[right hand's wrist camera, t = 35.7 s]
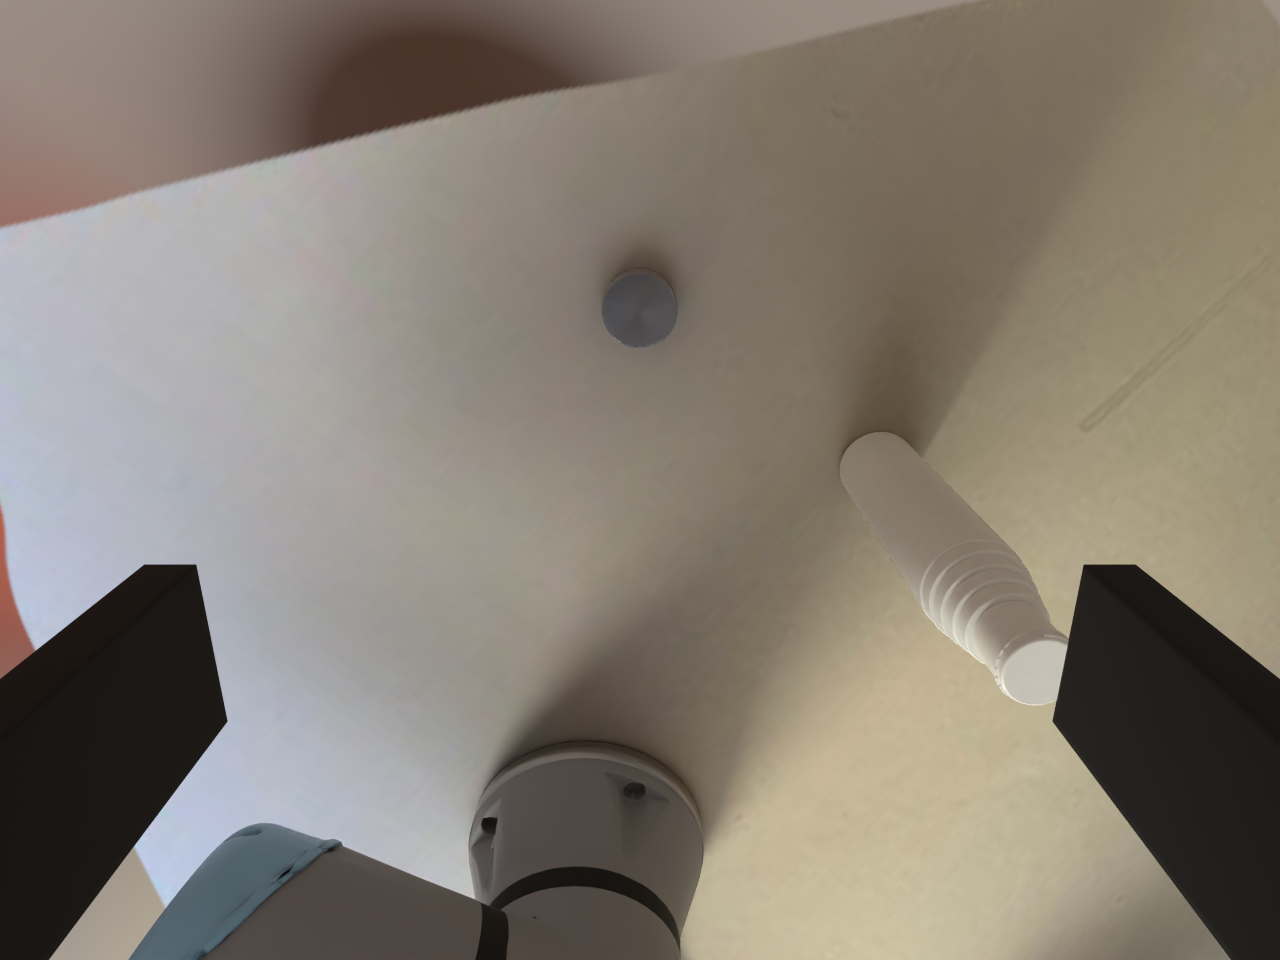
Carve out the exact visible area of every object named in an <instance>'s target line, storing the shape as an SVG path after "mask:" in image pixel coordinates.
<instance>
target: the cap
mask: <svg viewBox="0 0 1280 960" xmlns="http://www.w3.org/2000/svg"><path fill="white" fill-rule="evenodd" d="M602 315H603V320H604V323H605V326H606V328H607V330H608V331H609V333H610V334H611V335H612V336H613V337H614V338H615V339H616V340H617V341H619V342H620V343H622V344H624V345H627V346H630V347H635V348H645V347H649V346H653V345H655V344H657V343H659V342H660V341H662V340H663V339H664V338H665V337H666V336H667V335H668V334H669V333H670V331H671V330H672V328H673V326H674V324H675V321H676V317H677V304H676V299H675V296H674V292H673V290H672V288H671V286H670V284H669V283H668V282H667V281H666V280H665V279H664V278H663V277H662V276H661V275H660V274H658V273H656V272H654V271H652V270H648V269H642V268H638V269H631V270H628V271H625V272H623V273H621V274H620V275H618V276H617V277H616V278H615V279H614V280H613V281H612V282H611V283H610V285H609V286H608V288H607V290H606V293H605V296H604V300H603V305H602Z"/></svg>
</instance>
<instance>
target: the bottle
mask: <svg viewBox="0 0 1280 960" xmlns="http://www.w3.org/2000/svg"><path fill="white" fill-rule="evenodd" d="M839 472H840V479H841V482H842V484H843V486H844V488H845V490H846V491H847V493H848V494H849V496H850V497H851V499H852V501H853V502H854V504H855V505H856V507H857V508H858V510H859V511H860V513H861V515H862V516H863V518H864V519H865V521H866V522H867V524H868V525H869V527H870V528H871V530H872V532H873V533H874V535H875V536H876V538H877V539H878V541H879V542H880V544H881V546H882V547H883V549H884V550H885V552H886V553H887V555H888V556H889V558H890V559H891V561H892V563H893V564H894V566H895V567H896V569H897V570H898V572H899V573H900V575H901V577H902V578H903V580H904V581H905V583H906V584H907V586H908V587H909V589H910V590H911V592H912V594H913V595H914V597H915V598H916V600H917V601H918V603H919V604H920V606H921V607H922V609H923V611H924V612H925V614H926V615H927V616H928V618H929V619H930V620H931V621H932V622H933V623H934V624H935V625H936V626H937V628H938V629H939V630H940V631H941V632H942V633H944V634H945V635H946V636H948V637H949V638H950V639H951V640H953V641H954V642H955V643H956V644H958V645H960V646H961V647H962V648H963V649H964V650H966V651H967V652H969V653H970V654H971V655H972V656H973V657H974V658H975V659H977V660H978V661H980V662H981V663H983V664H986V665H987V666H988V668H989V669H990V670H991V672H992V673H993V675H994V678H995V680H996V683H997V685H998V687H999V688H1000V689H1001V690H1002V691H1003V693H1004V694H1005V695H1007V696H1009V697H1010V698H1012V699H1013V700H1016V701H1017V702H1020V703H1023V704H1026V705H1044V704H1048V703H1051V702H1054V701H1056V700H1057V696H1058V691H1059V686H1060V681H1061V676H1062V671H1063V666H1064V661H1065V656H1066V651H1067V646H1068V641H1069V639H1068V638H1067V636H1065V635H1064V634H1062V633H1061V632H1059V631H1057V630H1056V629H1055V627H1054V626H1053V625H1052V624H1051V623H1050V617H1049V614H1048V612H1047V610H1046V608H1045V607H1044V605H1043V601H1042V599H1041V597H1040V595H1039V594H1038V590H1037V588H1036V585H1035V584H1034V582H1033V580H1032V577H1031V575H1030V573H1029V571H1028V569H1027V568H1026V566H1025V565H1024V564H1023V563H1022V561H1021V559H1020V558H1019V556H1018V555H1017V554H1016V553H1015V552H1014V551H1013V550H1012V549H1011V548H1010V547H1009V546H1008V545H1007V544H1006V543H1005V542H1004V541H1003V540H1002V539H1001V538H1000V537H999V536H998V534H997V533H996V532H995V531H994V530H993V529H992V528H991V527H990V526H989V525H988V524H987V523H986V522H985V521H984V520H983V519H982V518H981V517H980V516H979V515H978V514H977V513H976V512H975V511H974V510H973V509H972V508H971V507H970V506H969V505H968V504H967V503H966V502H965V501H964V500H963V499H962V498H961V497H960V496H959V495H958V494H957V493H956V492H955V491H954V490H953V489H952V488H951V487H950V486H949V485H948V484H947V483H946V482H945V481H944V480H943V479H942V478H941V477H940V476H939V475H938V474H937V473H936V472H935V470H934V469H933V468H932V467H931V466H930V465H929V464H928V463H927V462H926V461H925V460H924V459H923V458H922V457H921V456H920V455H919V454H918V453H917V452H916V451H915V450H914V449H913V448H912V447H911V446H910V445H909V444H908V443H907V442H906V441H905V440H904V439H902V438H901V437H899V436H897V435H895V434H892V433H888V432H874V433H869V434H867V435H864V436H862V437H860V438H858V439H857V440H855V441H854V442H853V443H852V444H851V445H850V446H849V447H848V448H847V450H846V451H845V453H844V455H843V457H842V459H841V463H840V469H839Z"/></svg>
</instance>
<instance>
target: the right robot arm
mask: <svg viewBox="0 0 1280 960" xmlns="http://www.w3.org/2000/svg"><path fill="white" fill-rule="evenodd" d="M226 723H227V717H226V712H225V707H224V701H223V696H222V691H221V686H220V681H219V676H218V671H217V666H216V661H215V656H214V651H213V646H212V641H211V636H210V631H209V626H208V621H207V616H206V611H205V606H204V601H203V596H202V591H201V586H200V581H199V576H198V571H197V566H196V565H143V566H142V567H141V568H140V569H138V570H137V571H136V572H135V573H133V574H132V575H131V576H129V577H128V578H127V579H126V580H124V581H123V582H122V583H121V584H119V585H118V586H117V587H116V588H114V589H113V590H112V591H111V592H109V593H108V594H107V595H106V596H104V597H103V598H102V599H101V600H99V601H98V602H97V603H95V604H94V605H93V606H92V607H90V608H89V609H88V610H87V611H85V612H84V613H83V614H82V615H80V616H79V617H78V618H77V619H75V620H74V621H73V622H72V623H70V624H69V625H68V626H66V627H65V628H64V629H63V630H61V631H60V632H59V633H58V634H56V635H55V636H54V637H53V638H51V639H50V640H49V641H48V642H46V643H45V644H44V645H43V646H41V647H40V648H39V649H38V650H36V651H35V652H34V653H32V654H31V655H30V656H29V657H27V658H26V659H25V660H24V661H22V662H21V663H20V664H19V665H17V666H16V667H15V668H14V669H12V670H11V671H10V672H9V673H7V674H6V675H5V676H4V677H2V678H1V679H0V960H49V959H50V957H51V956H52V955H53V953H54V952H55V951H56V949H57V948H58V947H59V945H60V944H61V943H62V941H63V940H64V939H65V937H66V936H67V935H68V933H69V932H70V931H71V929H72V928H73V927H74V925H75V924H76V923H77V921H78V920H79V919H80V917H81V916H82V915H83V913H84V912H85V911H86V909H87V908H88V907H89V905H90V904H91V903H92V901H93V900H94V899H95V897H96V896H97V895H98V893H99V892H100V891H101V889H102V888H103V887H104V885H105V884H106V883H107V881H108V880H109V879H110V877H111V876H112V875H113V873H114V872H115V871H116V869H117V868H118V867H119V865H120V864H121V863H122V861H123V860H124V859H125V857H126V856H127V855H128V853H129V852H130V851H131V849H132V848H133V847H134V845H135V844H136V843H137V841H138V840H139V839H140V837H141V836H142V835H143V833H144V832H145V831H146V829H147V828H148V827H149V825H150V824H151V823H152V821H153V820H154V819H155V817H156V816H157V815H158V813H159V812H160V811H161V809H162V808H163V807H164V805H165V804H166V803H167V801H168V800H169V799H170V797H171V796H172V795H173V793H174V792H175V791H176V789H177V788H178V787H179V785H180V784H181V783H182V781H183V780H184V779H185V777H186V776H187V775H188V773H189V772H190V771H191V769H192V768H193V767H194V765H195V764H196V763H197V761H198V760H199V759H200V757H201V756H202V755H203V753H204V752H205V751H206V749H207V748H208V747H209V745H210V744H211V743H212V741H213V740H214V739H215V737H216V736H217V735H218V733H219V732H220V731H221V729H222V728H223V727H224V725H225V724H226ZM1053 723H1054V724H1055V725H1056V727H1057V728H1058V729H1059V731H1060V732H1061V733H1062V735H1063V736H1064V737H1065V739H1066V740H1067V741H1068V743H1069V744H1070V745H1071V747H1072V748H1073V749H1074V751H1075V752H1076V753H1077V755H1078V756H1079V757H1080V759H1081V760H1082V761H1083V763H1084V764H1085V765H1086V767H1087V768H1088V769H1089V771H1090V772H1091V773H1092V775H1093V776H1094V777H1095V779H1096V780H1097V781H1098V783H1099V784H1100V785H1101V787H1102V788H1103V789H1104V791H1105V792H1106V793H1107V795H1108V796H1109V797H1110V799H1111V800H1112V801H1113V803H1114V804H1115V805H1116V807H1117V808H1118V809H1119V811H1120V812H1121V813H1122V815H1123V816H1124V817H1125V819H1126V820H1127V821H1128V823H1129V824H1130V825H1131V827H1132V828H1133V829H1134V831H1135V832H1136V833H1137V835H1138V836H1139V837H1140V839H1141V840H1142V841H1143V843H1144V844H1145V845H1146V847H1147V848H1148V849H1149V851H1150V852H1151V853H1152V855H1153V856H1154V857H1155V859H1156V860H1157V861H1158V863H1159V864H1160V865H1161V867H1162V868H1163V869H1164V871H1165V872H1166V873H1167V875H1168V876H1169V877H1170V879H1171V880H1172V881H1173V883H1174V884H1175V885H1176V887H1177V888H1178V889H1179V891H1180V892H1181V893H1182V895H1183V896H1184V897H1185V899H1186V900H1187V901H1188V903H1189V904H1190V905H1191V907H1192V908H1193V909H1194V911H1195V912H1196V913H1197V915H1198V916H1199V917H1200V919H1201V920H1202V921H1203V923H1204V924H1205V925H1206V927H1207V928H1208V929H1209V931H1210V932H1211V933H1212V935H1213V936H1214V937H1215V939H1216V940H1217V941H1218V943H1219V944H1220V945H1221V947H1222V948H1223V949H1224V951H1225V952H1226V953H1227V955H1228V956H1229V957H1230V959H1231V960H1280V679H1279V678H1278V677H1277V676H1275V675H1274V674H1273V673H1271V672H1270V671H1269V670H1268V669H1266V668H1265V667H1264V666H1263V665H1261V664H1260V663H1259V662H1258V661H1256V660H1255V659H1254V658H1253V657H1251V656H1250V655H1249V654H1248V653H1246V652H1245V651H1244V650H1242V649H1241V648H1240V647H1239V646H1237V645H1236V644H1235V643H1234V642H1232V641H1231V640H1230V639H1229V638H1227V637H1226V636H1225V635H1224V634H1222V633H1221V632H1220V631H1219V630H1217V629H1216V628H1215V627H1214V626H1212V625H1211V624H1210V623H1208V622H1207V621H1206V620H1205V619H1203V618H1202V617H1201V616H1200V615H1198V614H1197V613H1196V612H1195V611H1193V610H1192V609H1191V608H1190V607H1188V606H1187V605H1186V604H1185V603H1183V602H1182V601H1181V600H1179V599H1178V598H1177V597H1176V596H1174V595H1173V594H1172V593H1171V592H1169V591H1168V590H1167V589H1166V588H1164V587H1163V586H1162V585H1161V584H1159V583H1158V582H1157V581H1156V580H1154V579H1153V578H1152V577H1151V576H1149V575H1148V574H1147V573H1145V572H1144V571H1143V570H1142V569H1140V568H1139V567H1138V566H1137V565H1084V566H1083V571H1082V576H1081V581H1080V586H1079V591H1078V596H1077V601H1076V606H1075V611H1074V616H1073V621H1072V626H1071V631H1070V636H1069V641H1068V646H1067V651H1066V656H1065V661H1064V666H1063V671H1062V676H1061V681H1060V686H1059V691H1058V696H1057V701H1056V707H1055V712H1054V717H1053ZM469 862H470V869H471V875H472V881H473V887H474V893H475V899H476V900H475V899H472V898H470V897H467V896H464V895H462V894H459V893H457V892H454V891H452V890H449V889H447V888H444V887H441V886H439V885H436V884H434V883H431V882H429V881H426V880H424V879H421V878H419V877H416V876H414V875H411V874H409V873H406V872H404V871H402V870H399V869H397V868H394V867H392V866H389V865H387V864H385V863H382V862H380V861H377V860H375V859H372V858H370V857H368V856H365V855H363V854H360V853H358V852H355V851H353V850H351V849H348V848H346V847H343V846H342V843H341V842H340V841H338V840H334V839H331V840H322V839H319V838H316V837H312V836H309V835H306V834H303V833H300V832H297V831H294V830H291V829H288V828H286V827H283V826H280V825H276V824H272V823H260V824H254V825H250V826H247V827H245V828H243V829H241V830H239V831H237V832H236V833H234V834H232V835H231V836H230V837H229V838H227V839H226V840H225V841H224V842H223V843H222V844H221V845H220V846H218V847H217V848H216V849H215V850H214V851H213V852H212V853H211V854H210V856H209V857H208V858H207V859H206V860H205V861H204V862H203V863H202V864H201V866H200V867H199V868H198V869H197V870H196V871H195V873H194V874H193V875H192V876H191V877H190V879H189V880H188V881H187V882H186V883H185V885H184V886H183V887H182V888H181V890H180V891H179V892H178V893H177V895H176V896H175V897H174V899H173V900H172V901H171V902H170V904H169V905H168V906H167V908H166V909H165V910H164V912H163V913H162V914H161V916H160V917H159V918H158V919H157V921H156V922H155V924H154V925H153V926H152V928H151V929H150V930H149V932H148V933H147V934H146V936H145V937H144V939H143V940H142V941H141V943H140V944H139V946H138V947H137V948H136V950H135V951H134V953H133V954H132V955H131V957H130V958H129V960H681V955H680V936H681V933H682V930H683V927H684V924H685V921H686V917H687V914H688V911H689V908H690V905H691V902H692V899H693V896H694V893H695V890H696V887H697V884H698V881H699V877H700V873H701V868H702V863H703V838H702V828H701V821H700V816H699V813H698V810H697V807H696V805H695V802H694V800H693V798H692V797H691V795H690V793H689V792H688V790H687V789H686V787H685V786H684V785H683V783H682V782H681V781H680V780H679V779H678V778H677V777H676V776H675V775H674V774H673V773H672V772H671V771H670V770H668V769H667V768H666V767H664V766H663V765H662V764H660V763H659V762H657V761H655V760H654V759H652V758H650V757H648V756H646V755H644V754H642V753H640V752H637V751H635V750H632V749H629V748H626V747H623V746H619V745H614V744H610V743H602V742H588V741H583V742H568V743H561V744H556V745H551V746H548V747H544V748H541V749H538V750H536V751H533V752H531V753H529V754H527V755H525V756H523V757H521V758H519V759H517V760H516V761H514V762H512V763H511V764H510V765H508V766H507V767H506V768H504V769H503V770H502V771H501V772H500V773H499V774H498V775H497V776H496V777H495V778H494V779H493V780H492V781H491V783H490V784H489V785H488V787H487V788H486V790H485V791H484V793H483V795H482V797H481V799H480V801H479V803H478V806H477V809H476V812H475V816H474V820H473V824H472V828H471V832H470V838H469Z"/></svg>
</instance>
